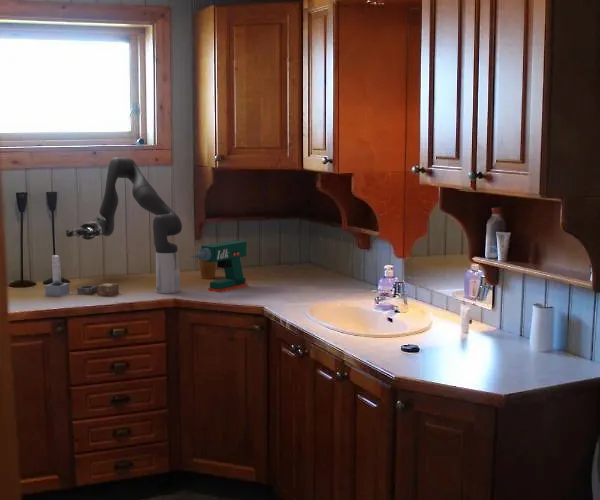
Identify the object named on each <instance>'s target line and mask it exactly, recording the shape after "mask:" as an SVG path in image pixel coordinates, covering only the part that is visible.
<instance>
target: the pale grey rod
mask: <svg viewBox="0 0 600 500" xmlns="http://www.w3.org/2000/svg"><path fill="white" fill-rule="evenodd" d="M51 262H52V263H51V266H52V269H51V270H52V283H53V285H54V286H60V285H61V283H62V273H61V272H62V271H61V270H62V269H61V256H60V255H59V254H54V255H53V254H52V255H51Z"/></svg>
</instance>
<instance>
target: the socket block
mask: <svg viewBox="0 0 600 500" xmlns="http://www.w3.org/2000/svg"><path fill="white" fill-rule="evenodd" d="M104 284H114V285H111V286H102V285H104ZM119 284H120V283H113V282H110V283H109V282H104V283H101V284H98V285H89V284H87V285H81V286H79V287H77V288H76V289H77V291H76V292H73V293H70V296H72V295H74V296H89V297H103V298H104V297H105V298H118V297H121V296H122V295H125V294H126V292H120V290H119Z"/></svg>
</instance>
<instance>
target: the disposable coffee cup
mask: <svg viewBox="0 0 600 500" xmlns="http://www.w3.org/2000/svg"><path fill="white" fill-rule="evenodd" d="M198 264H199V269H200V276H201V279H203V280H212V279H215V278H216V270H217V262H206V261H202V260H201V259H200V258H198Z"/></svg>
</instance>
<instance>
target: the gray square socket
mask: <svg viewBox="0 0 600 500" xmlns="http://www.w3.org/2000/svg"><path fill="white" fill-rule="evenodd" d="M44 288H45V289H44V290H45V291H44V292H45V294H42V295H41V296H42V297H43V296H46V297H60V298H62V297H64V296H66V295H71V294H72V293H74V292H72V291H70V283H69V282H61V285H60V286H54V285H53V282H51V283H48V284H45V285H44Z"/></svg>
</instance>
